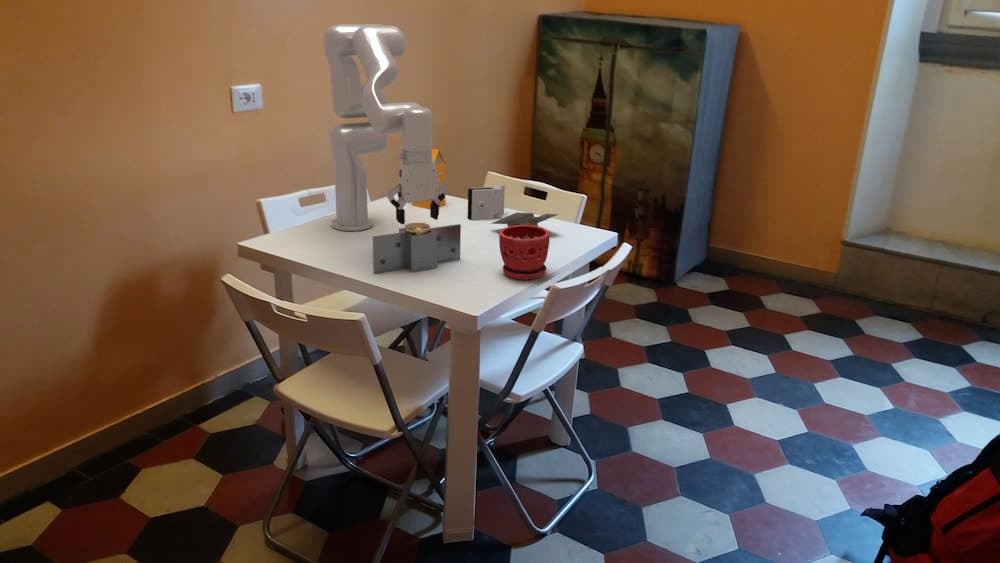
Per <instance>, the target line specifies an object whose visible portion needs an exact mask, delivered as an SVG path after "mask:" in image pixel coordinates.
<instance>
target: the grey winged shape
mask: <svg viewBox="0 0 1000 563" xmlns="http://www.w3.org/2000/svg"><path fill="white" fill-rule="evenodd" d="M534 215H535V214H534V213H533V212H532V213H531V212H515V213H512V214H509V215H507V216H505V217H503V218H502V217H501V218H500V219H497V220H495V221H492V222H490V224H491V225H493V224H495V225H507V227H510V226H516V225H533V226H539V223H542V222H544V221H547V220H549V219H551V218H554V217H556V216H558V215H559V214H558V213H544V214H541V215H540V216H534ZM524 237H529V236H528V235H525V236H524Z"/></svg>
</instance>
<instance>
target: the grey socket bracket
mask: <svg viewBox="0 0 1000 563" xmlns="http://www.w3.org/2000/svg"><path fill="white" fill-rule="evenodd" d="M461 228H462V226H461V224H460V223H457V224H450V225H443V226H438V227H436V226H435V227H430V232H428V233H425V234H415V235H412V234H410V233H407V232H405V227H400V228H398V232H395V233H388V234H381V235H374V236H372V262H373V263H372V265H373V266H372V268H373V269H372V270H373V274H374V275H376V274H382V273H387V272H394V271H399V270H405V269H406V270H407V271H409V272H410V273H416V272H417V273H418V272H421V271H427V270H429V271H430V270H433V269H438V264H441V263H442V264H443V263H446V262H453V261H458V260H461V234H462V233H461Z"/></svg>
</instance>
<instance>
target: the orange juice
mask: <svg viewBox="0 0 1000 563" xmlns="http://www.w3.org/2000/svg"><path fill="white" fill-rule="evenodd" d="M440 150H441V149H440V148H434V147H432V161H435V163H436V168H437V175H438V183H440V184H442V185H444V186H446V184H447V183H446V166H447V165H446V161H445V159H444V157H443V155H442V152H441V151H440ZM439 193H440V188H439ZM431 203H432V201H431V200H428V201H420V202H412V203H411V206H412V207H416V208H421V209H427V210H430V204H431ZM444 206H446V196H445V197H444V199H443V200H442V201H441V204H440V205H439V208H441V207H444Z"/></svg>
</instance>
